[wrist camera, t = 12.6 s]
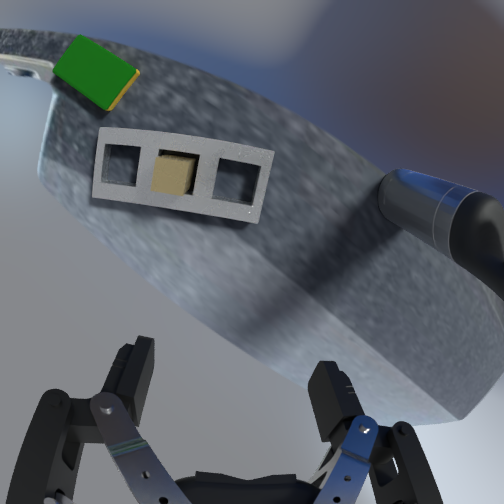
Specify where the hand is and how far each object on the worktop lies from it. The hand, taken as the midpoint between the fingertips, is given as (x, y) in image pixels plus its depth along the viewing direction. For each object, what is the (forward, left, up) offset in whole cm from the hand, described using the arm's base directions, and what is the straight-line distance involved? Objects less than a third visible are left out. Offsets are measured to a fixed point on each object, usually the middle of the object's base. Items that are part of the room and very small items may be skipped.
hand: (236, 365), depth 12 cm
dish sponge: (+24, -18, -30) cm, 43 cm away
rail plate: (+8, -5, -29) cm, 31 cm away
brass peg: (+8, -5, -29) cm, 31 cm away
